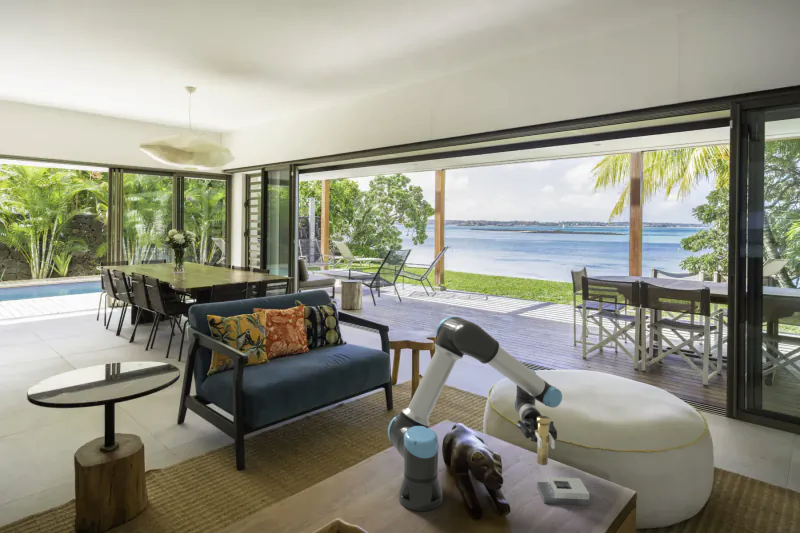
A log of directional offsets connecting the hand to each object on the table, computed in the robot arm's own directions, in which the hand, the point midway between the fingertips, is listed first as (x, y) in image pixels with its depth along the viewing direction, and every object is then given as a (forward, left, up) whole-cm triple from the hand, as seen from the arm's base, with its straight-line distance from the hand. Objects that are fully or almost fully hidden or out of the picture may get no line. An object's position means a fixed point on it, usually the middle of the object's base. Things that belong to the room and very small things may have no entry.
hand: (547, 444), depth 155 cm
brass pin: (0, +5, -9) cm, 10 cm away
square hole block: (+7, +5, -21) cm, 22 cm away
